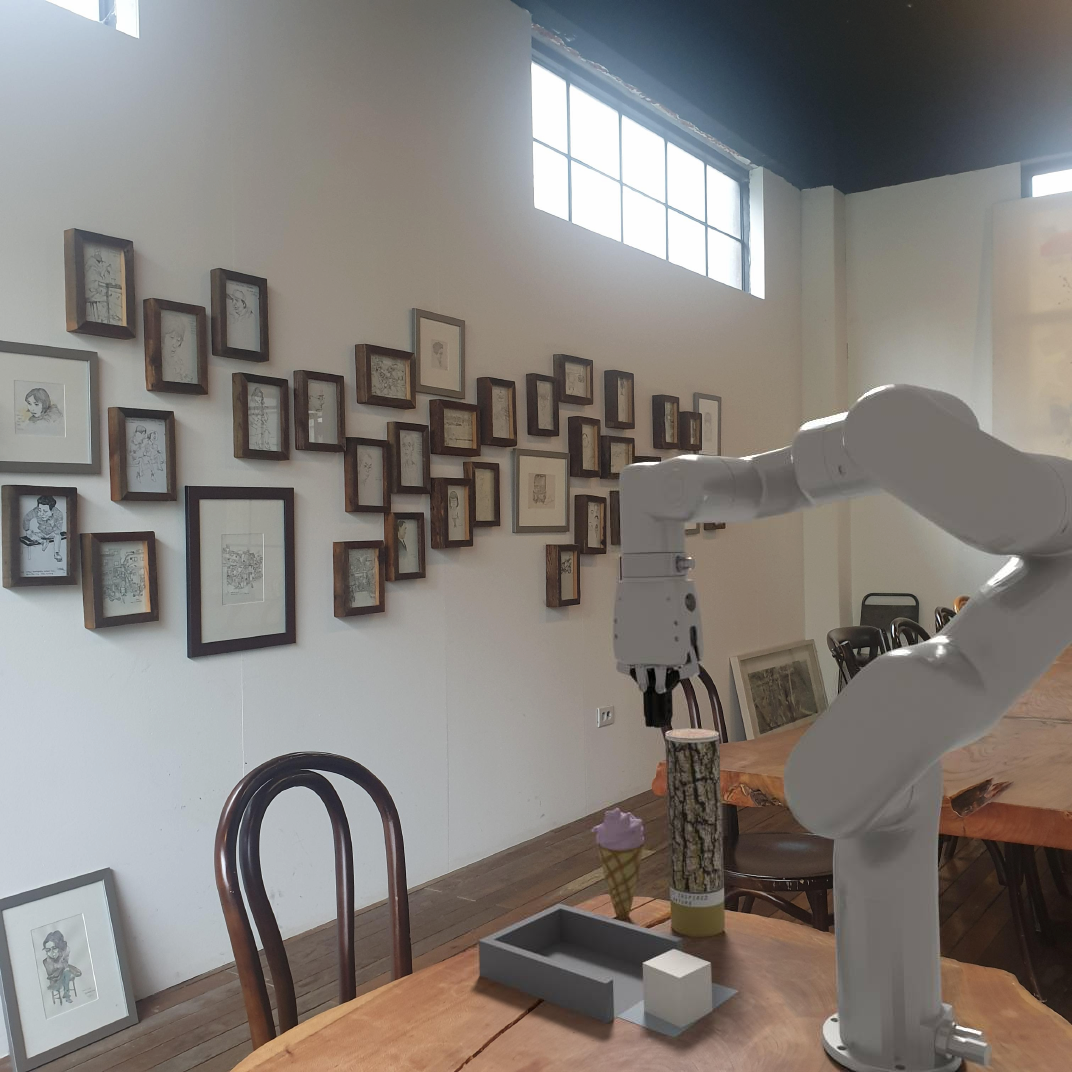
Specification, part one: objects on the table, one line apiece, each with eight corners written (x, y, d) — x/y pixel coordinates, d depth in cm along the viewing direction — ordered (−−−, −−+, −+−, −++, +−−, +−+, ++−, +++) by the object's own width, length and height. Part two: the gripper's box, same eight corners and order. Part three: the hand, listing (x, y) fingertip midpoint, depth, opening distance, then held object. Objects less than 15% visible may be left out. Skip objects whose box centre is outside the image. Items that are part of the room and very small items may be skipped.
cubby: (738, 995, 105) (737, 953, 105) (665, 1049, 94) (663, 1002, 94) (560, 939, 122) (559, 903, 122) (479, 979, 111) (478, 940, 111)
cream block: (712, 1011, 101) (710, 962, 101) (681, 1027, 97) (679, 977, 97) (675, 995, 104) (673, 948, 104) (644, 1011, 101) (642, 963, 101)
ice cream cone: (590, 926, 126) (586, 810, 126) (601, 909, 131) (597, 798, 132) (641, 930, 124) (637, 812, 124) (649, 913, 130) (646, 800, 130)
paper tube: (725, 942, 119) (718, 738, 120) (669, 939, 121) (663, 738, 121) (725, 921, 126) (719, 728, 126) (672, 919, 127) (666, 728, 128)
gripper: (726, 566, 112) (731, 726, 111) (619, 568, 121) (623, 715, 121) (693, 569, 106) (698, 737, 106) (583, 570, 115) (587, 724, 115)
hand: (658, 725), depth 113 cm, fingers closed
